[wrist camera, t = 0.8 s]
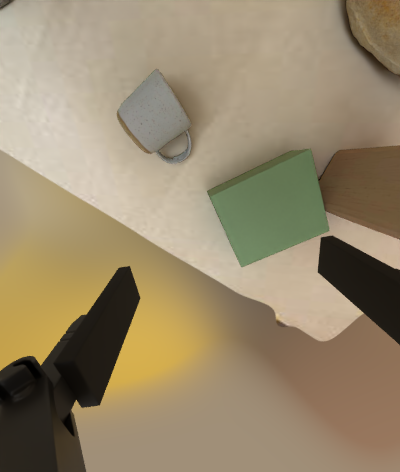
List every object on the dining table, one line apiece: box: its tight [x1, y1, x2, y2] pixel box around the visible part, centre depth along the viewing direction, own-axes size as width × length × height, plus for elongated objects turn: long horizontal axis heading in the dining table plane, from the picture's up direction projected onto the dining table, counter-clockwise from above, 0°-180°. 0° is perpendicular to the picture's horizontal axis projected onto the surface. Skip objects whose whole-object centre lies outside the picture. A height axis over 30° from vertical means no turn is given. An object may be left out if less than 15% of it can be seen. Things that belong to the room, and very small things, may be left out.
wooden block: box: [319, 146, 400, 239], centre depth 26 cm, size 10×10×20 cm
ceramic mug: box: [117, 69, 192, 164], centre depth 28 cm, size 11×8×8 cm
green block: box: [207, 149, 329, 267], centre depth 33 cm, size 14×16×6 cm
